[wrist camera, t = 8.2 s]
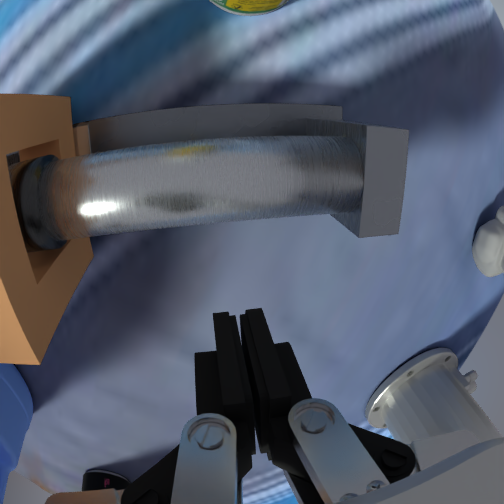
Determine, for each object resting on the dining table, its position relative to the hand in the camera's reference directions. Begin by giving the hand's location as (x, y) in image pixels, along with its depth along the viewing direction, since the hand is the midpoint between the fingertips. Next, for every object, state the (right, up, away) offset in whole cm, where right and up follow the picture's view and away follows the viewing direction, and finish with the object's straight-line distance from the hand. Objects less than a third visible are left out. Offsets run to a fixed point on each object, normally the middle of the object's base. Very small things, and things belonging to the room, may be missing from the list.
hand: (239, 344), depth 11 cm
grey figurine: (+21, +5, +12) cm, 25 cm away
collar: (-10, +7, +4) cm, 13 cm away
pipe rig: (-5, +8, +5) cm, 10 cm away
